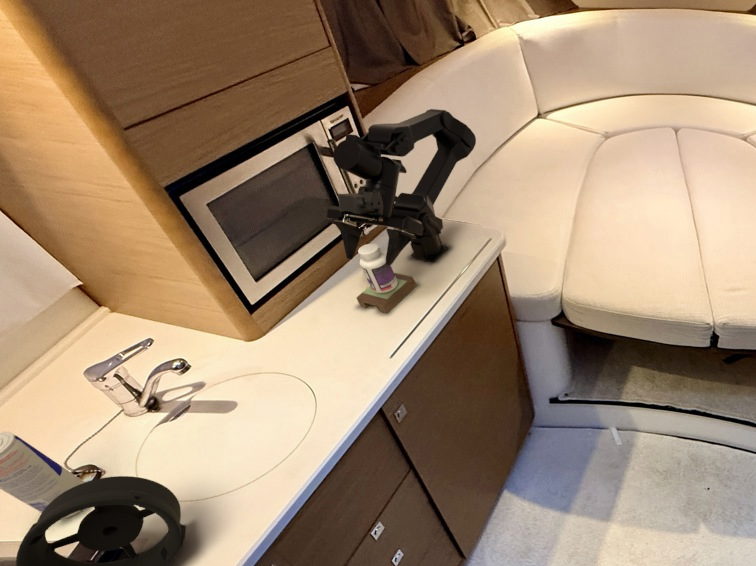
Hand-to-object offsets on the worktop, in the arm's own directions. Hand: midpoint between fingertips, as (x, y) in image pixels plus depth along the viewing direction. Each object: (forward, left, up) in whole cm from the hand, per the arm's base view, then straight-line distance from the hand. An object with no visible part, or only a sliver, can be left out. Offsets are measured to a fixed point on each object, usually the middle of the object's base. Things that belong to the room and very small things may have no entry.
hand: (368, 262), depth 105 cm
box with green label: (-1, 0, -10) cm, 10 cm away
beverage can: (+56, -13, -10) cm, 58 cm away
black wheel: (+54, +1, -5) cm, 55 cm away
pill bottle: (-1, 0, -7) cm, 8 cm away
